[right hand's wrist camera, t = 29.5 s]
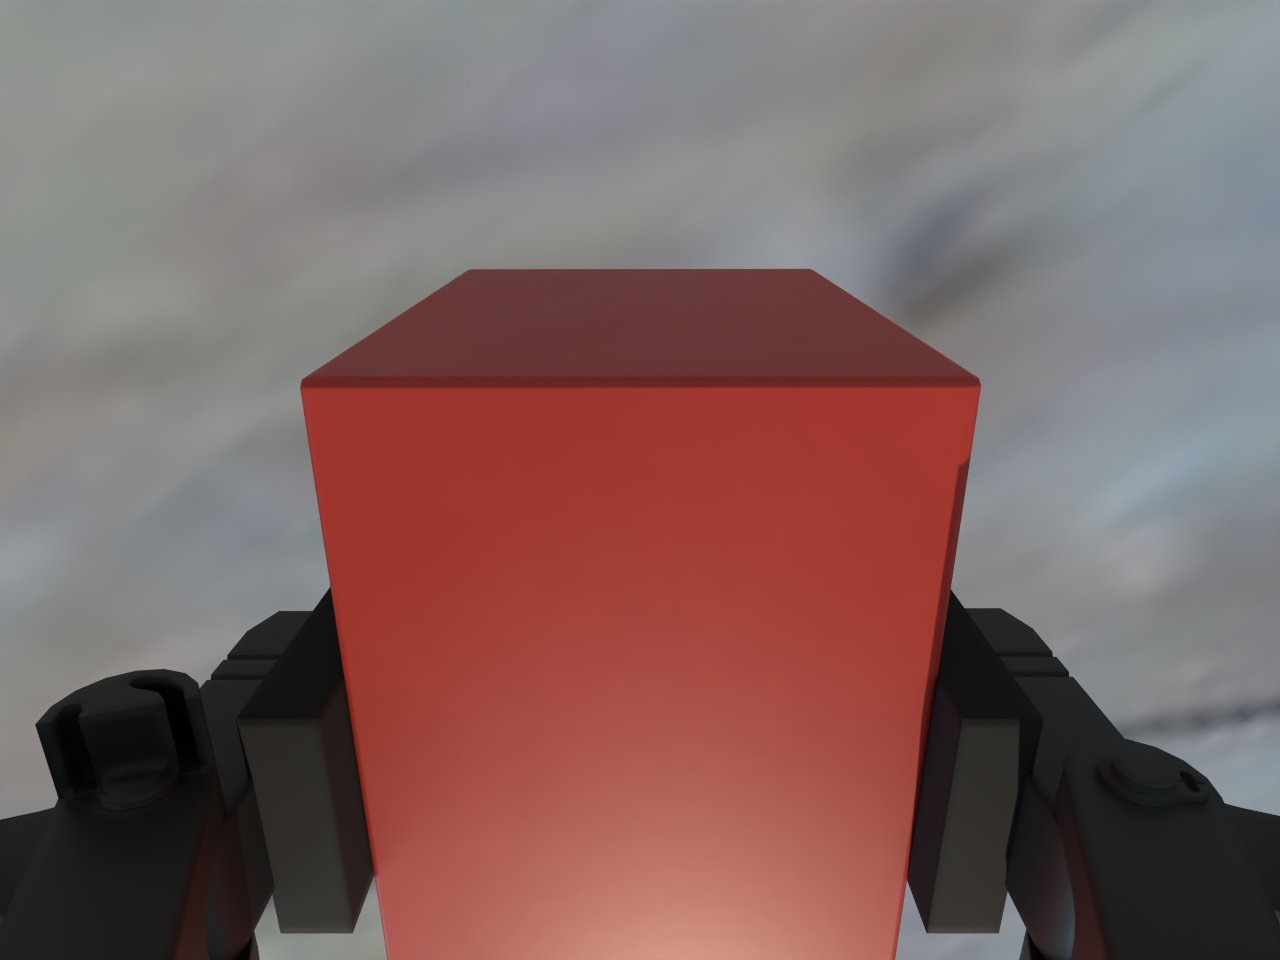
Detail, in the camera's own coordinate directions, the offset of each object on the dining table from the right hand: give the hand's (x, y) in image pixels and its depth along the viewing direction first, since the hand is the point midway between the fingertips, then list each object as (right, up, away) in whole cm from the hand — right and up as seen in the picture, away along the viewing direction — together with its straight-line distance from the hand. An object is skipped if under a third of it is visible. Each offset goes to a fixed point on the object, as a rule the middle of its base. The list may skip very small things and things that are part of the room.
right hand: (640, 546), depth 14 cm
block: (0, +1, +2) cm, 2 cm away
